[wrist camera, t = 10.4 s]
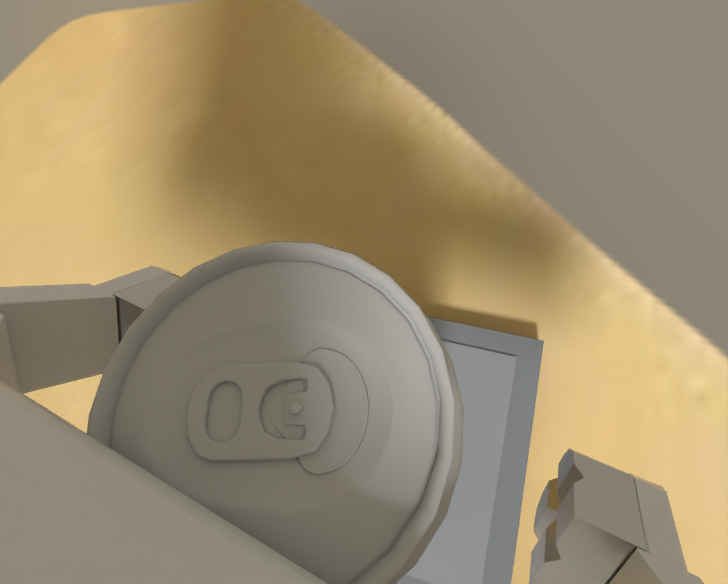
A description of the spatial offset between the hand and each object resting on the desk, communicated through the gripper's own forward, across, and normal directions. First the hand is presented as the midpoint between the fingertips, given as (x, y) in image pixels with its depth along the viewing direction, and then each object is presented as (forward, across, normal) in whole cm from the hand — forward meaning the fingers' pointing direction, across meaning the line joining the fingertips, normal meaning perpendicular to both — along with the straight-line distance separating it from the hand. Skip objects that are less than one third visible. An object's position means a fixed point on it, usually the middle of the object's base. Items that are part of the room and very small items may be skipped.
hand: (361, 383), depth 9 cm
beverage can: (+5, 0, +7) cm, 8 cm away
